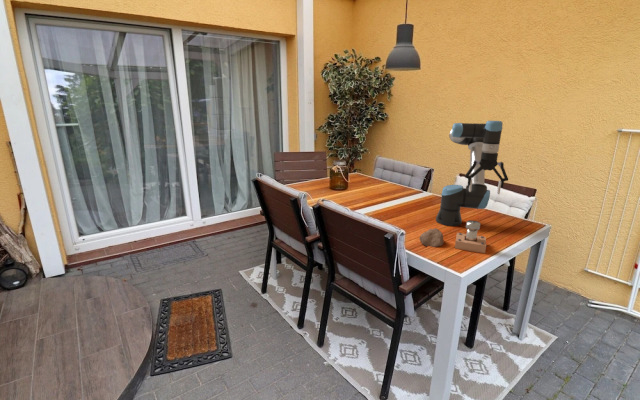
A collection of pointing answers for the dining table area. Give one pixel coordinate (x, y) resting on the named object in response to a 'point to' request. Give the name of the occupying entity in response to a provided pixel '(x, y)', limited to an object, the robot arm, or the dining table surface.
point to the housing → (470, 243)
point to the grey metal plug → (472, 230)
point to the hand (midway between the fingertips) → (483, 192)
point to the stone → (432, 238)
